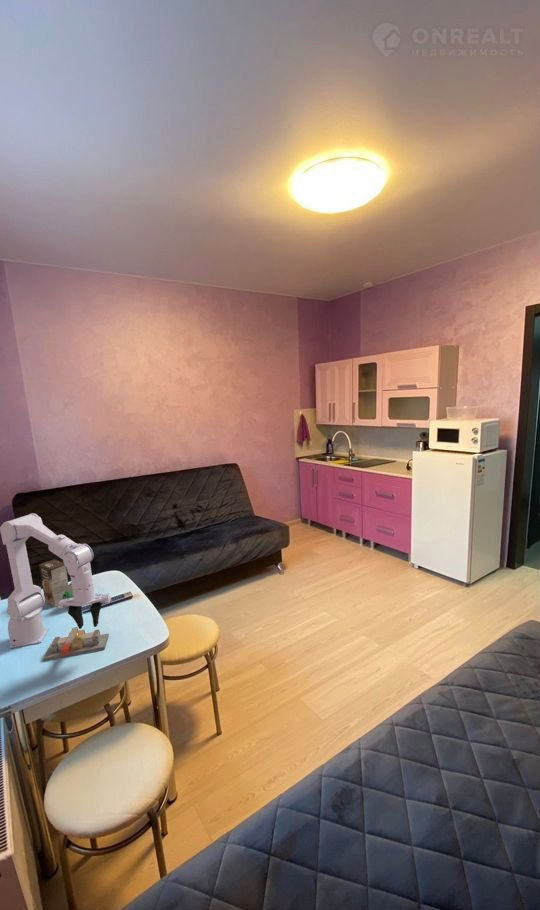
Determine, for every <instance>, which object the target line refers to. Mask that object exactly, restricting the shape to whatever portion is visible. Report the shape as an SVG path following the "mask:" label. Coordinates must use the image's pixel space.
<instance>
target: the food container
mask: <svg viewBox="0 0 540 910" xmlns="http://www.w3.org/2000/svg"><path fill="white" fill-rule="evenodd" d="M63 591H65V594H66V598H67V599H68V598H72V597H74V596H73V589H72V583H71V582H70V583H68V586H64V588H63Z"/></svg>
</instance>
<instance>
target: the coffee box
mask: <svg viewBox="0 0 540 910" xmlns="http://www.w3.org/2000/svg"><path fill="white" fill-rule="evenodd" d="M38 567H39V573H40V580H41V585H42V593H43V595H44V597H45V603H46V604H47V603H48V604H49V605H51V606H53V607H54V608H57V607H59V602H60V601H61V600H63V599H67V598H66V594H65V591H63V588H64V586H68V585H69V580H68V571H67V568H66V566H65V564H64V562H63V561H60V560H57V559H55V558H54V559H52V560H48V561H46V562H45V561H44V562H42V563H40V564H38Z"/></svg>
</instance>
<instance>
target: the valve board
mask: <svg viewBox="0 0 540 910" xmlns="http://www.w3.org/2000/svg"><path fill="white" fill-rule="evenodd" d="M100 636H101V640H100V643H99V644H98V645H95V646H93V645H89V646H84V647H83V648H81V649H76V650H71V651H70V654H67V655H62V653H61V651H58V653H53V652H52V648H51V643H50V644H49V646H48V647H47V650H46V651H45V654H44V656H43V658H42V660H43V662H46V661H51V660H56V659H62V658H67V657H72V656H73V657H74V656H78V655H83V654H88V653H92V652H97V651H103V650H105V649H106V646H107V643H108V640H109V637H110V635H109V633H103V634H100Z"/></svg>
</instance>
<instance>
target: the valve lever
mask: <svg viewBox="0 0 540 910" xmlns="http://www.w3.org/2000/svg"><path fill="white" fill-rule="evenodd" d="M78 631H79V628H78V626H77V627H76V626H75V627H72V628H71V630H70V631H69V633H70V635H69V634H68V635H69V637H68V636H67V637H68V639H67V641H66V643H65V644H64V645H63V647H62V649H61V653H62V655H67V654H70V651H71V649H72V644H73V642H74V639H75V637H76V635H77V634H78Z"/></svg>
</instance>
